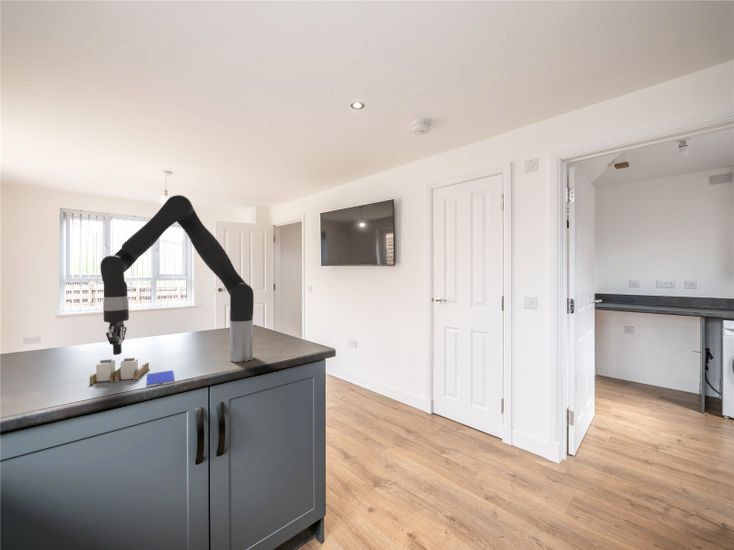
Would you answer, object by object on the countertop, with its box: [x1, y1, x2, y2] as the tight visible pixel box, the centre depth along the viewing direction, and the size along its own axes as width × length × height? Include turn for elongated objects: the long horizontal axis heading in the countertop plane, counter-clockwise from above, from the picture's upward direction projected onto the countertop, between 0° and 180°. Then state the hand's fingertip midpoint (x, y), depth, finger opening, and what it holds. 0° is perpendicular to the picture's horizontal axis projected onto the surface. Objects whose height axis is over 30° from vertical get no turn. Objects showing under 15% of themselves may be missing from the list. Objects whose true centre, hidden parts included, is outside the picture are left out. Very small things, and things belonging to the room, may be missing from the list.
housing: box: [89, 366, 121, 385], centre depth 117 cm, size 6×14×3 cm, turn 19°
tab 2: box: [120, 357, 139, 381], centre depth 116 cm, size 4×4×7 cm
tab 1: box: [95, 359, 116, 383], centre depth 114 cm, size 4×4×7 cm
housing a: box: [114, 362, 150, 383], centre depth 119 cm, size 6×14×3 cm, turn 19°
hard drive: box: [145, 370, 176, 388], centre depth 115 cm, size 2×8×12 cm
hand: (117, 354), depth 122 cm, fingers closed
